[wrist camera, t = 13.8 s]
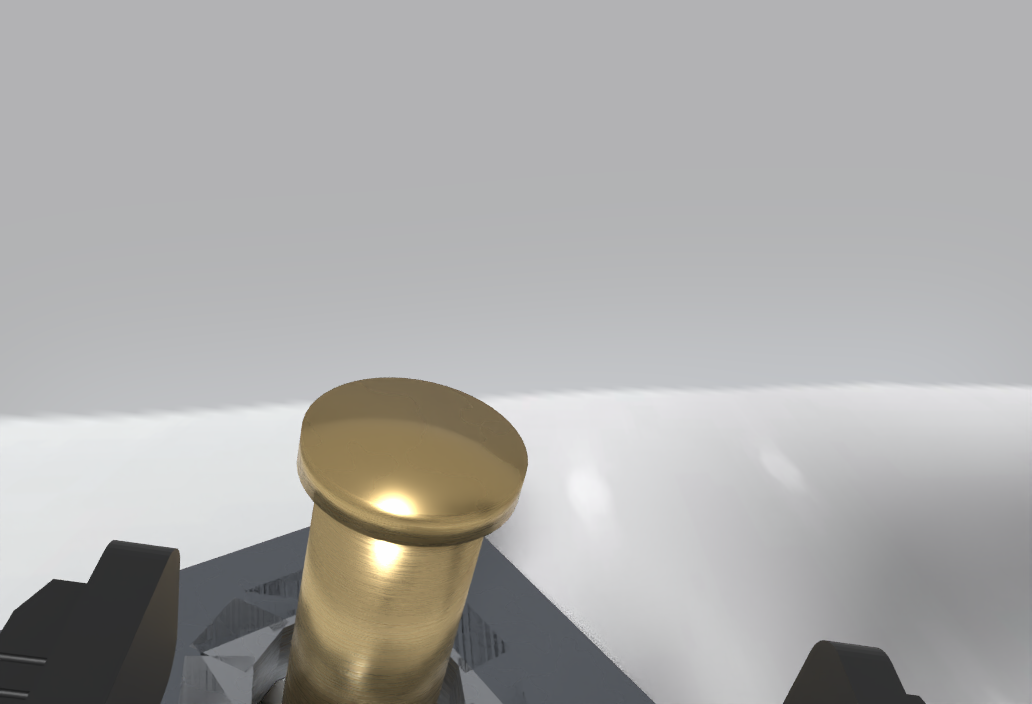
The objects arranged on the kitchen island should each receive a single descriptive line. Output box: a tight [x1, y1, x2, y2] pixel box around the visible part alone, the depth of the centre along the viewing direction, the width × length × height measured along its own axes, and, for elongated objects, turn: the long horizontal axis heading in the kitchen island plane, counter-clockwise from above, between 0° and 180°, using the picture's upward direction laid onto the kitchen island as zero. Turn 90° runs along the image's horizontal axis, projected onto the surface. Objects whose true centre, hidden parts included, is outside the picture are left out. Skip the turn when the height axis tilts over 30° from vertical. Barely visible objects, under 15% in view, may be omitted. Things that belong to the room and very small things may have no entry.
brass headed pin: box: [282, 378, 528, 704], centre depth 26 cm, size 6×6×12 cm
